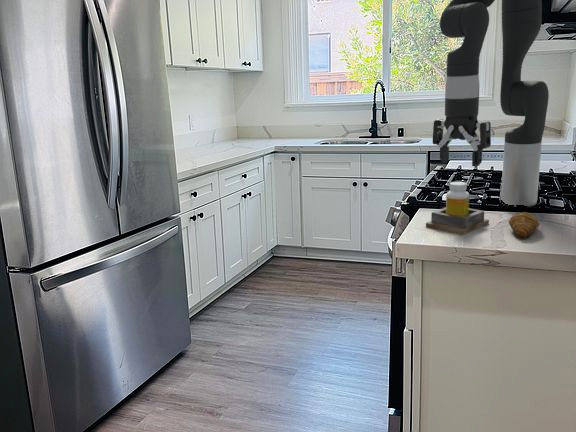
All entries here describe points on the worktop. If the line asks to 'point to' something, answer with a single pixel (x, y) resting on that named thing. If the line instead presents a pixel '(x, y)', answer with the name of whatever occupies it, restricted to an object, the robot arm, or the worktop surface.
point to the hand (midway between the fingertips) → (459, 164)
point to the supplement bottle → (457, 200)
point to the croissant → (523, 224)
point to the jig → (457, 221)
